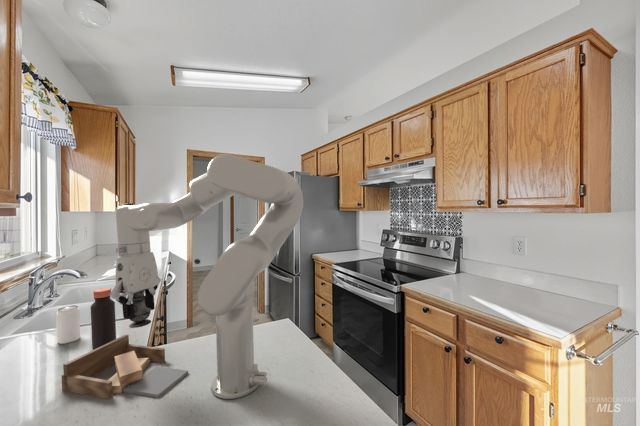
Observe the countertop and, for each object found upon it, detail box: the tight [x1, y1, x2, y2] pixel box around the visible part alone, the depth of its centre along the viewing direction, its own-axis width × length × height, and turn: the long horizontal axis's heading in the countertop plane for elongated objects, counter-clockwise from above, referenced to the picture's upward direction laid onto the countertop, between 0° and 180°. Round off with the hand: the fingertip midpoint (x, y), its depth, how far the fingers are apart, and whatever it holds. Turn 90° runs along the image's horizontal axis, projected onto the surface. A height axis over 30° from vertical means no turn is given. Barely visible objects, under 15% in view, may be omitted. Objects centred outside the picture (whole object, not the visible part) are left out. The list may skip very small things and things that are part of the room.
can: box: [55, 305, 81, 345], centre depth 107 cm, size 6×6×12 cm
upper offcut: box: [114, 351, 143, 386], centre depth 83 cm, size 5×14×2 cm, turn 40°
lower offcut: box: [108, 358, 150, 394], centre depth 83 cm, size 5×14×2 cm, turn 3°
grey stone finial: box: [128, 290, 152, 329], centre depth 82 cm, size 6×6×12 cm
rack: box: [61, 334, 166, 400], centre depth 85 cm, size 16×18×7 cm
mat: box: [123, 365, 189, 399], centre depth 80 cm, size 11×11×1 cm
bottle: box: [90, 287, 117, 350], centre depth 102 cm, size 7×7×20 cm
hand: (139, 313), depth 82 cm, fingers closed on grey stone finial, 5 cm apart
